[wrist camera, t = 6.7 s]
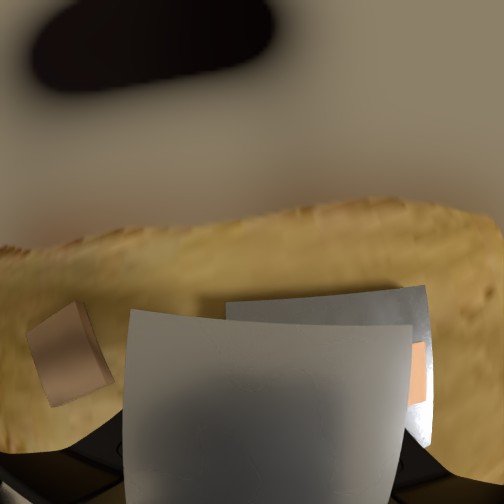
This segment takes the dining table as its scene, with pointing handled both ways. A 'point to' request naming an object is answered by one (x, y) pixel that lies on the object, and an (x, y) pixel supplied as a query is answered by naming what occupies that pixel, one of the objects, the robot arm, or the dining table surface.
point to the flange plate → (364, 314)
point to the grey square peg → (262, 411)
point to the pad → (68, 355)
